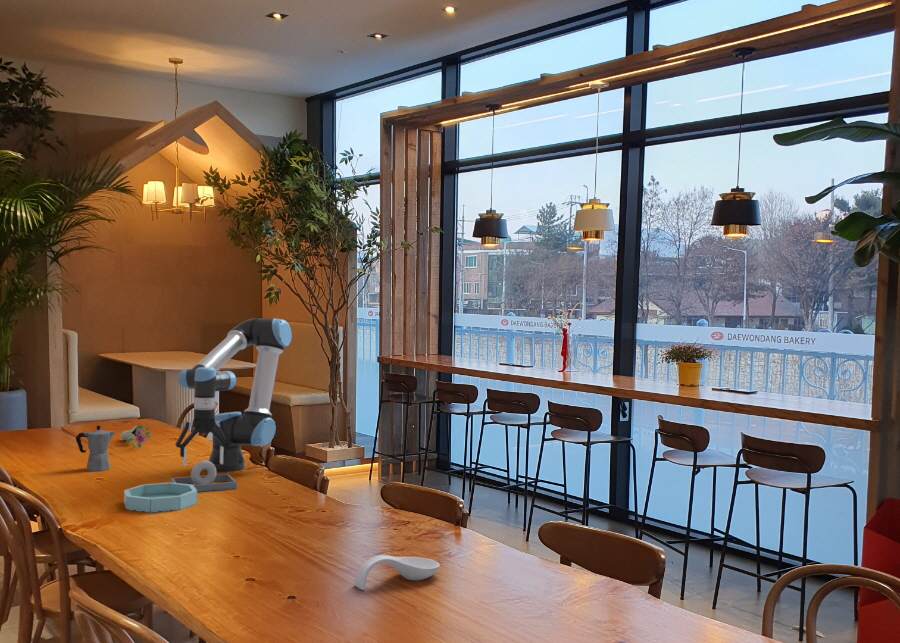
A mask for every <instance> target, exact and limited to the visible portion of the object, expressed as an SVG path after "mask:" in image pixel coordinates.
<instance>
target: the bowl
mask: <svg viewBox="0 0 900 643" xmlns="http://www.w3.org/2000/svg"><path fill="white" fill-rule="evenodd" d="M193 485H194V484H181V483H172V482H171V481H170V482H159V483H158V482H157V483H145V484H140V485H136V486H134V487H130V488H127V489H124V490H123V504H124V507H125V509H126V510H127V509H129V510H128V511H133V510H136V512H141V511H145V512H144V513H149V512H150V513H159V512H158V511H162V512H171V511H170V510H173V511H181V510H184V509H186V508H188V506H189V507H191V505H192V506H194V505H197V504H198V492H197V490H196V488H195V487H194V486H193ZM196 503H197V504H196ZM193 504H194V505H193ZM185 507H186V508H185ZM183 508H184V509H183ZM180 509H181V510H180Z"/></svg>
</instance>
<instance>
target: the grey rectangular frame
mask: <svg viewBox="0 0 900 643" xmlns="http://www.w3.org/2000/svg"><path fill="white" fill-rule="evenodd" d="M206 476H207V474H206V475H200V477H201V478H204V477H206ZM170 482H172V483H181V484H188V483H191V484H192V485H193V486H194V487H195V488H196V490H197V493H200V492H201V491H203V492H212V491H213V490H215V491H224V490H226V491H227V490H237V489H238V487H237V486H238V482H237V481H236V479H235V478H233V477H232V476H231V475H230V473H223V474H222V473H220V474H216V477H215V479H214V481H213V482H212V483H211V484H201V485H195V484H194V483H193V481H192V480H191V476H183V477H182V476H181V477H171V478H170ZM213 492H214V491H213ZM201 493H202V492H201Z"/></svg>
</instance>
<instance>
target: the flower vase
mask: <svg viewBox="0 0 900 643" xmlns="http://www.w3.org/2000/svg"><path fill="white" fill-rule="evenodd" d="M143 427H144V425H139V424H137V425H135V426H133V427H132V428H131V429H129V430H124V431H122V432H121V433H120V438H121V440H122V441H126V443H131V442H137V443H133V445H132V449H131V450H134V449H135V448H136V447H137V446H138V447H139V448H140V447H142V444H145V442H146V441H147V439H151V438H152V437H151V435H150V434H151V431H149V428H150V426H149V425H147V426H146V428H145V430H144V429H143ZM145 432H146V433H145Z"/></svg>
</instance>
